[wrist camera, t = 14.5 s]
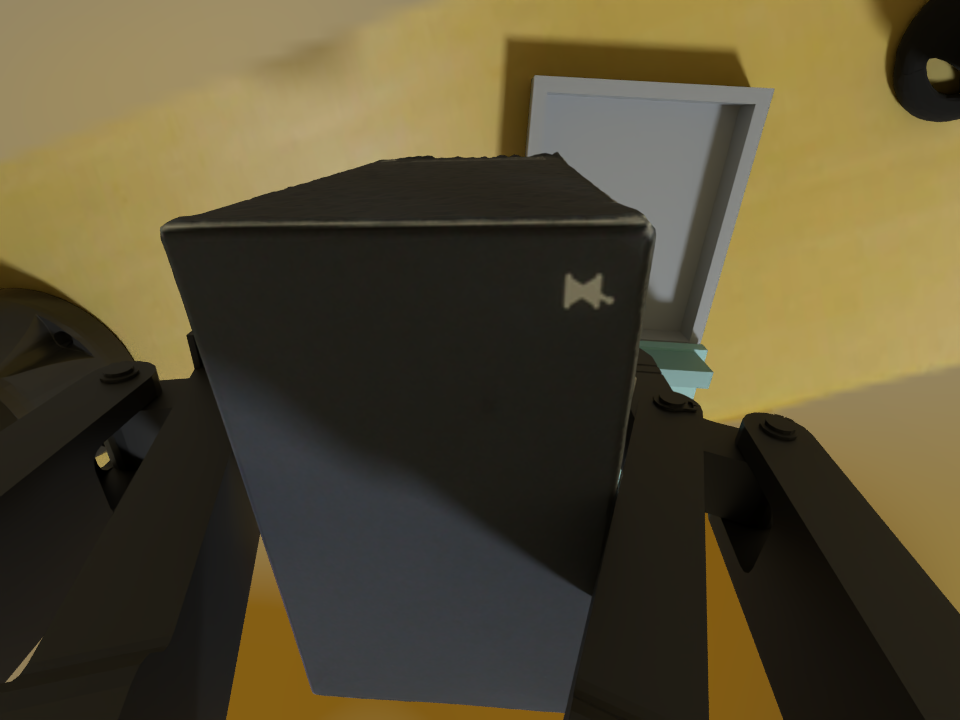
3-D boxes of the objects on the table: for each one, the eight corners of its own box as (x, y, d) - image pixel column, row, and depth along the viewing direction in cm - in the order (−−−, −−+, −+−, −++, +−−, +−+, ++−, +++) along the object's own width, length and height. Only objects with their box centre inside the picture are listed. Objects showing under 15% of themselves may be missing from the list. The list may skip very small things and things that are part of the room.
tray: (500, 439, 41) (500, 457, 38) (531, 79, 28) (534, 75, 26) (654, 449, 41) (663, 468, 38) (752, 91, 28) (774, 88, 26)
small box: (360, 155, 15) (110, 205, 5) (568, 150, 14) (692, 194, 5) (395, 430, 19) (295, 713, 10) (551, 431, 19) (599, 725, 10)
